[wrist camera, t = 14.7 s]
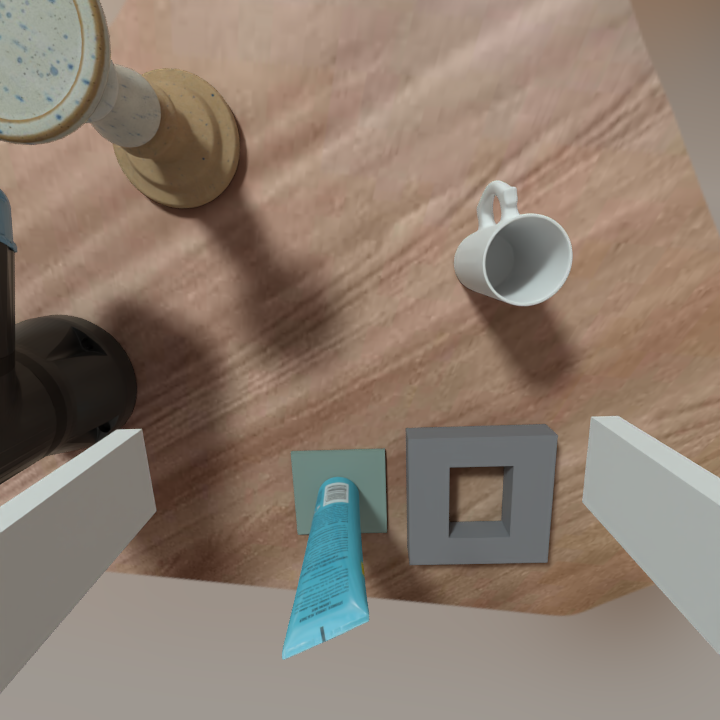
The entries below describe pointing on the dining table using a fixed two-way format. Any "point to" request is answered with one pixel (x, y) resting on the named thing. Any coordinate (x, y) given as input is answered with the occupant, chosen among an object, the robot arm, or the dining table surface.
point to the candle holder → (112, 102)
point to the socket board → (519, 505)
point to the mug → (513, 252)
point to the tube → (330, 572)
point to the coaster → (350, 464)
